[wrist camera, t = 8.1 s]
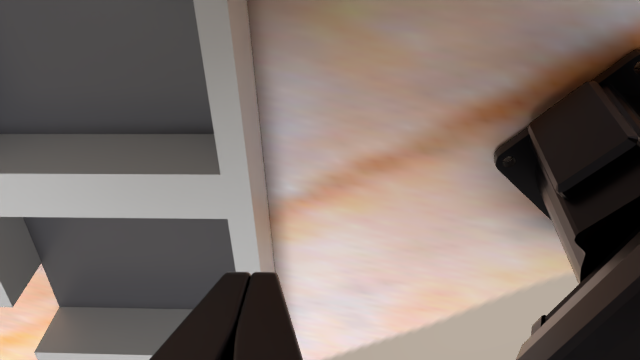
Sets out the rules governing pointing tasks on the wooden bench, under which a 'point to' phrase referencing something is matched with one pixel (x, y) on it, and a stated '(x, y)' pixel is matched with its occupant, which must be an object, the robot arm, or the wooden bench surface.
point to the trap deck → (127, 165)
